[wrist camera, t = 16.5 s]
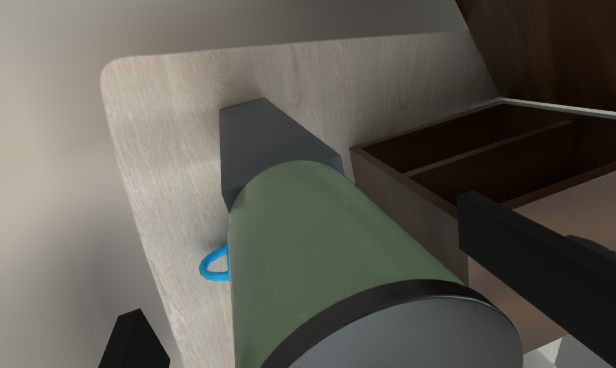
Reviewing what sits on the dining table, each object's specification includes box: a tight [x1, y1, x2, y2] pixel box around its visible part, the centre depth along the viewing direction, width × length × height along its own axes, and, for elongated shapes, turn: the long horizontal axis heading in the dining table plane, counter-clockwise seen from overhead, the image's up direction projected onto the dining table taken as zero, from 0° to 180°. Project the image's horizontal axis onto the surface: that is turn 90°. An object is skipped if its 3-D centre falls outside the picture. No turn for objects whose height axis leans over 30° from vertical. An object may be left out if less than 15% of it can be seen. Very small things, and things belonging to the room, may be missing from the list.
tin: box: [228, 160, 523, 368], centre depth 12 cm, size 7×7×10 cm
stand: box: [219, 98, 344, 214], centre depth 29 cm, size 6×6×28 cm
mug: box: [199, 234, 230, 281], centre depth 44 cm, size 12×8×8 cm
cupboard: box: [349, 100, 616, 355], centre depth 41 cm, size 18×26×24 cm
